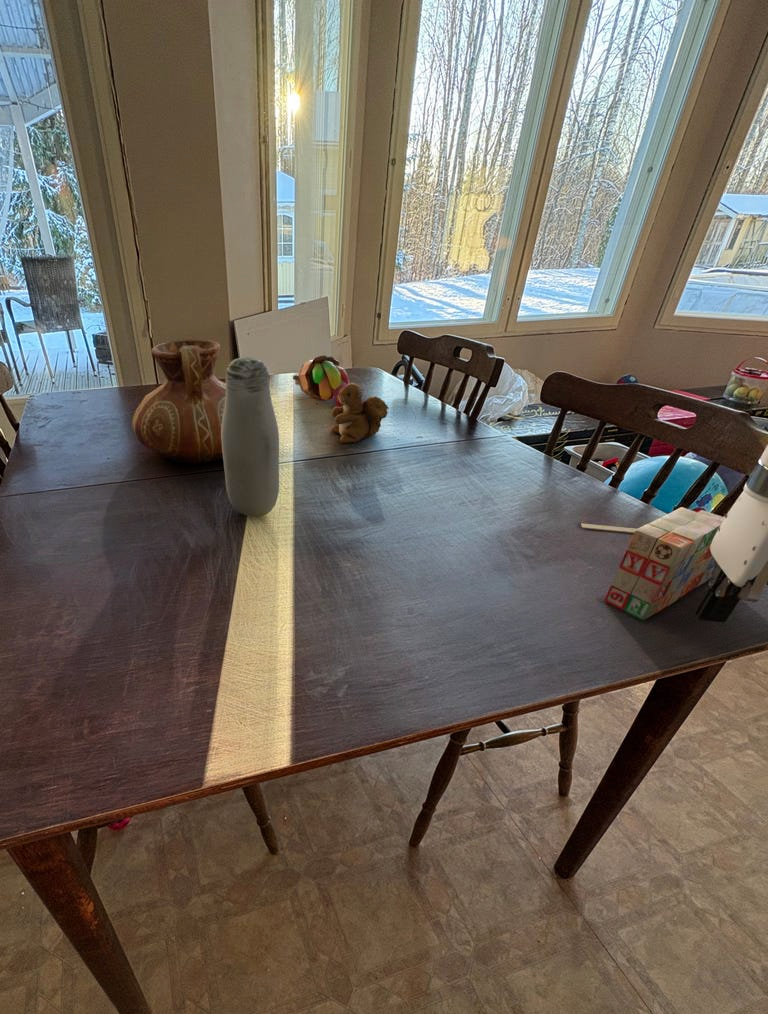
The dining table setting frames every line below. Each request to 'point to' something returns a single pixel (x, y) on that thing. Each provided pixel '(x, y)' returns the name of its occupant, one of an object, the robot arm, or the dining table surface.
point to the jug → (184, 404)
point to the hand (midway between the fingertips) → (709, 617)
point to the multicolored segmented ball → (322, 378)
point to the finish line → (608, 528)
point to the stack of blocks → (665, 562)
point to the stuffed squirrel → (357, 414)
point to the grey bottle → (250, 438)
